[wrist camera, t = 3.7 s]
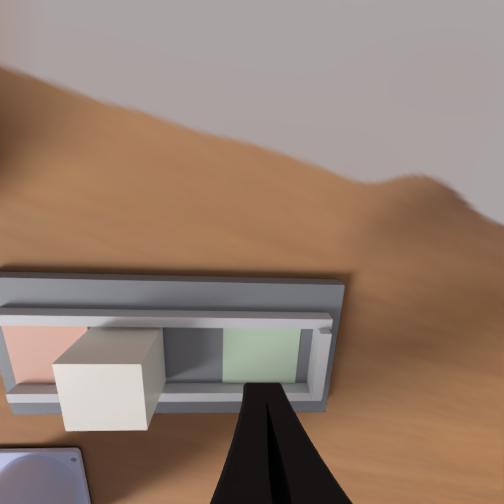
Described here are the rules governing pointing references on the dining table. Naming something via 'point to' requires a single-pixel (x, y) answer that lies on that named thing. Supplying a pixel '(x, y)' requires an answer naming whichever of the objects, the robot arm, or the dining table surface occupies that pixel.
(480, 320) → the dining table surface
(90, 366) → the white block
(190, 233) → the dining table surface
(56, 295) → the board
